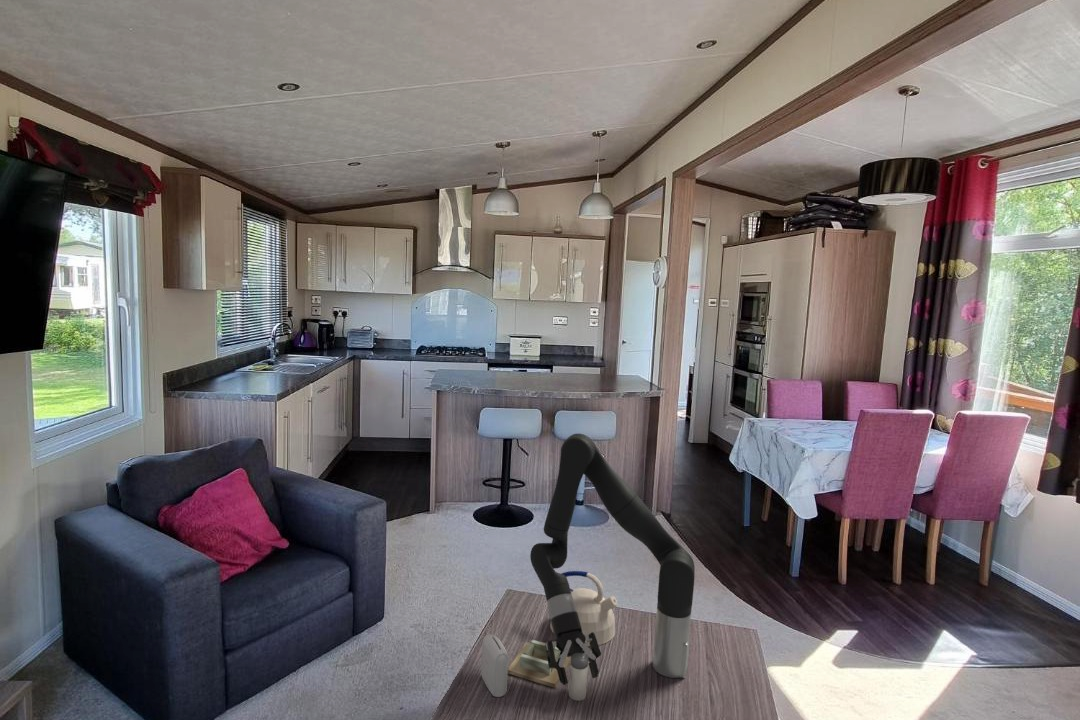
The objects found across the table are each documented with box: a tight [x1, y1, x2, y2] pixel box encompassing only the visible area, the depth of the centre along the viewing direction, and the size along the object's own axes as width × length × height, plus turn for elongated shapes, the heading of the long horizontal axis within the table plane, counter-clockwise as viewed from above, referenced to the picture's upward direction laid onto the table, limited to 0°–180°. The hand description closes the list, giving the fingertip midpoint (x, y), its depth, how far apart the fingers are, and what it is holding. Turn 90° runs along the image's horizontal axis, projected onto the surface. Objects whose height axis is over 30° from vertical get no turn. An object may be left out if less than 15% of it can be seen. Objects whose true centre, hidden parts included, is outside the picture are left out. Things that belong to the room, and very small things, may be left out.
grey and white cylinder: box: [568, 653, 589, 702], centre depth 150 cm, size 4×4×10 cm
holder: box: [507, 639, 571, 689], centre depth 161 cm, size 14×14×4 cm
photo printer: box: [480, 633, 509, 698], centre depth 152 cm, size 10×4×12 cm, turn 26°
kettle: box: [549, 570, 618, 647], centre depth 180 cm, size 20×21×18 cm
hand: (580, 680), depth 149 cm, fingers open, 8 cm apart
